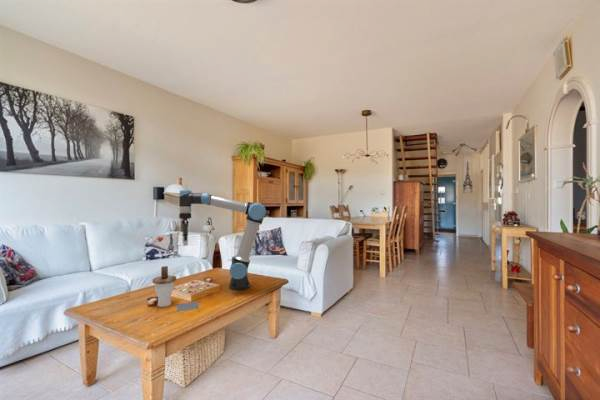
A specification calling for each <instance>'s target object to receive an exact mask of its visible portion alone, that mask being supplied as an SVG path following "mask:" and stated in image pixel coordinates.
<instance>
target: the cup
mask: <svg viewBox="0 0 600 400" xmlns="http://www.w3.org/2000/svg"><path fill="white" fill-rule="evenodd" d="M174 282H175V281H174ZM174 282H171V283H166V284H154V291H155V294H156V295H157V300H158V301H157V307H159V308H160V307H161V308H163V307H164V308H165V307H169V306H171V305H172V300H171V296H172V293H173V291H174V289H175V284H174Z"/></svg>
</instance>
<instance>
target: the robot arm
mask: <svg viewBox="0 0 600 400" xmlns="http://www.w3.org/2000/svg"><path fill="white" fill-rule="evenodd" d="M178 200H179V201H178V203H179V207H178V210H179V211H178V212H179V214H178V215H179V216H178V218H179V219H181V220H182V221H181V226H182V243H183V244H182V246H183V247H184V246H188V242H189V240H188V239H189V229H188V228H189V221H188V219H189V220H190V219H192V205H207V206H212V207H217V208H221V209H225V210H231V211H235V212H237V213H243V214H244V215H245V216H246V217H245V220H246V225H245V228H244V230H243V233H242V237H241V241H240V244H239V246H238V247H239V248H238V249H237V254H236V255H233V256H232V257H231V265H230V267H229V274H230V276H231V277H230V279H229V280H230V281H229V285H228V289H230V290H235V291H240V290H246V289H249V288H250V287H251V286H250V280H249V275H248V269H249V266H250V263H251V260H250V255H251V252H252V249H253V246H254V242H255V240H256V237H257V232H258V230H259V228H260V227H259V226H261V225H262V224H263V222H264V218H265V216H266V214H267V210H266V207H265V205H264V204H263V203H261V202H250V201H247V202H244V201H241V200H235V199H230V198H227V197H222V196H217V195H212V194H210V193H208V192H207V193H206V192H192V190H190V189H181V190H179V196H178Z"/></svg>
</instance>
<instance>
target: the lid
mask: <svg viewBox="0 0 600 400" xmlns="http://www.w3.org/2000/svg"><path fill="white" fill-rule="evenodd" d="M168 269H169V266H168V265H167V266H166V265H164V266H161V269H160V270H161V271H160V273H161V274H160V276H156V277H154V278H153V279H152V283H153V284H154V285H155V284H166V283H171V282H175V281H176V280H177V276H175V275H169V270H168Z"/></svg>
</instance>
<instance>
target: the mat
mask: <svg viewBox="0 0 600 400" xmlns="http://www.w3.org/2000/svg"><path fill="white" fill-rule="evenodd" d="M196 309H200V306H199V301H192V302H184V303H177V304H176V312H183V311H184V312H185V311H190V310H196Z"/></svg>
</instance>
